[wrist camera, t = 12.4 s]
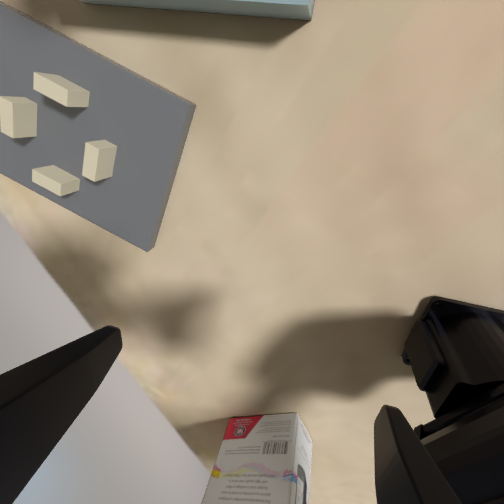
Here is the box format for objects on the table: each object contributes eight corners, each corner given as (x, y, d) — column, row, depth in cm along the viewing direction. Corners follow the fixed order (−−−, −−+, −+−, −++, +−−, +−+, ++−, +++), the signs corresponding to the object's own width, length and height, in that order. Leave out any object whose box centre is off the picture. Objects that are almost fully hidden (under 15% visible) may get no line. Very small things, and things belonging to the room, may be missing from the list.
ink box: (245, 442, 34) (208, 584, 24) (227, 413, 32) (180, 553, 22) (315, 441, 31) (307, 606, 20) (299, 409, 29) (282, 572, 19)
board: (196, 104, 18) (175, 104, 16) (154, 247, 24) (134, 262, 22) (-17, -8, 19) (-69, -26, 16) (-7, 160, 25) (-44, 166, 22)
